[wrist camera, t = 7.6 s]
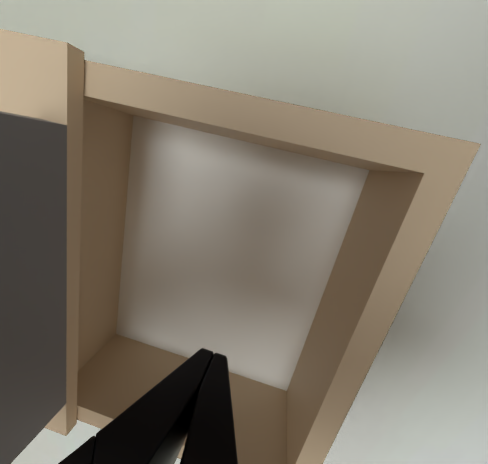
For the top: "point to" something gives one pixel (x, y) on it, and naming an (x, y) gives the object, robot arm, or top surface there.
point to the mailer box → (247, 249)
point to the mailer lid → (39, 236)
